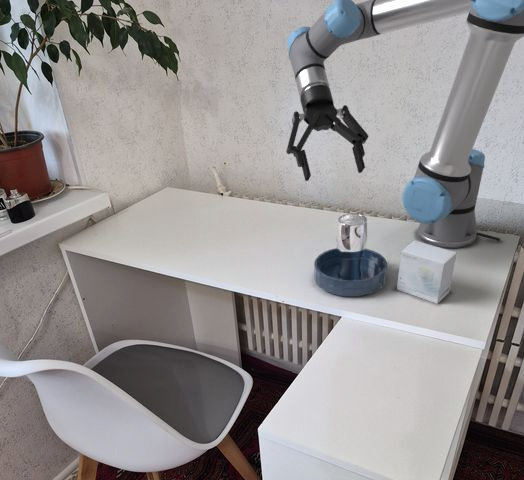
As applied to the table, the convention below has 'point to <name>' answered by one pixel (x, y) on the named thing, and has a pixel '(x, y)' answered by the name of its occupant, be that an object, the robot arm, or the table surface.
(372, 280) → the bowl
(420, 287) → the cosmetics box
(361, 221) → the beer glass
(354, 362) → the table surface
